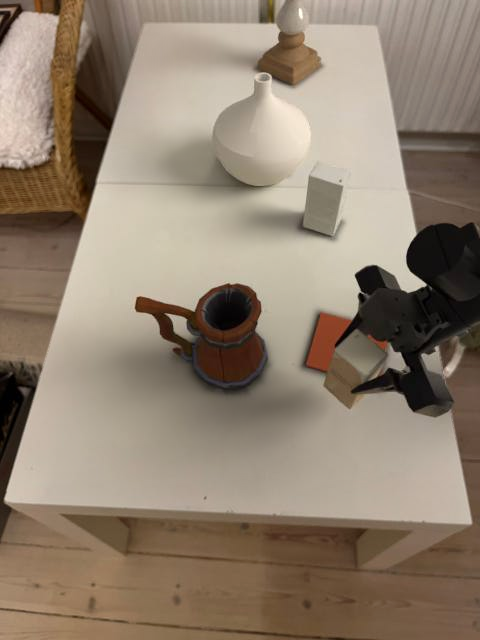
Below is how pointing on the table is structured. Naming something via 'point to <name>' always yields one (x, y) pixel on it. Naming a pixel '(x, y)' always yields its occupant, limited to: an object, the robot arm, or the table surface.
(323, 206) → the cosmetic box
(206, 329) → the mug
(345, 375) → the box
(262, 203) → the table surface
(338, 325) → the mat
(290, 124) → the vase
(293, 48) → the candle holder
